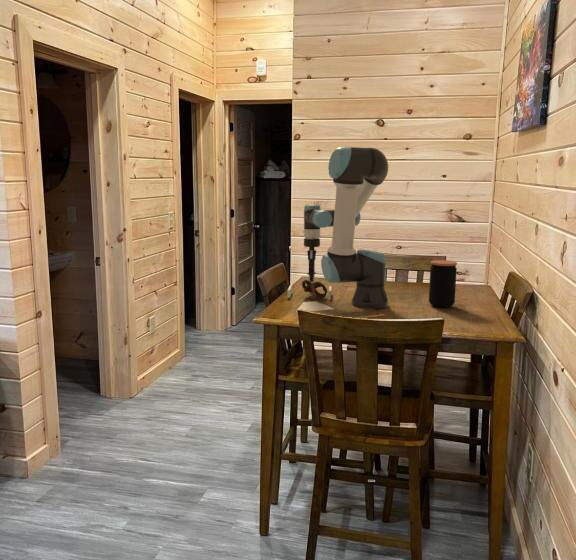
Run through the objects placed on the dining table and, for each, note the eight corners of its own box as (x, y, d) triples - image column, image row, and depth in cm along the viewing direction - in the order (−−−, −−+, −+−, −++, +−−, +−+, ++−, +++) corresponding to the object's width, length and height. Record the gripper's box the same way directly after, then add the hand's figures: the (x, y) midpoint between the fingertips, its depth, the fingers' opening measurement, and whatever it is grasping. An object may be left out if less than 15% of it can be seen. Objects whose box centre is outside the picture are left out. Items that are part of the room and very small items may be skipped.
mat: (334, 309, 222) (334, 308, 222) (298, 313, 215) (298, 312, 215) (315, 301, 236) (315, 301, 236) (281, 304, 229) (281, 304, 229)
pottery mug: (321, 297, 249) (331, 287, 243) (314, 310, 241) (325, 300, 236) (300, 282, 247) (309, 271, 242) (293, 294, 240) (303, 283, 235)
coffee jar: (459, 306, 227) (461, 263, 224) (434, 307, 225) (437, 264, 222) (447, 301, 237) (450, 259, 234) (424, 301, 235) (426, 260, 232)
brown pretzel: (289, 293, 252) (289, 285, 251) (331, 294, 250) (331, 285, 249) (287, 299, 240) (287, 290, 239) (331, 300, 238) (331, 291, 238)
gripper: (304, 236, 261) (304, 285, 265) (303, 239, 248) (302, 290, 252) (320, 236, 260) (319, 285, 264) (319, 239, 247) (318, 290, 252)
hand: (311, 287), depth 258 cm, fingers closed
